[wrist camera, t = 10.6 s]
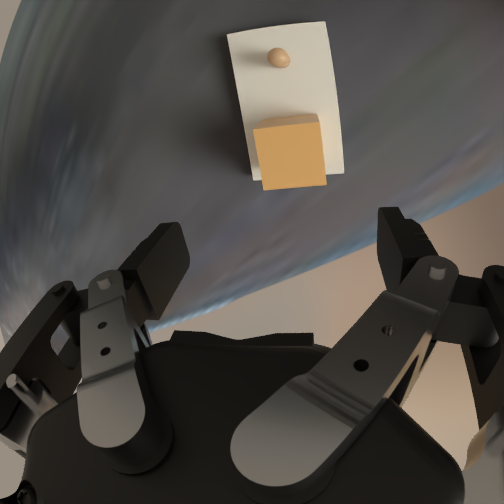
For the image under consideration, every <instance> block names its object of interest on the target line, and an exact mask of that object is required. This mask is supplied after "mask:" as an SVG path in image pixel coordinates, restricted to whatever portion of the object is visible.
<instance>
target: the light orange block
mask: <svg viewBox="0 0 504 504" xmlns="http://www.w3.org/2000/svg"><path fill="white" fill-rule="evenodd" d="M253 133H254V138H255V144H256V149H257V155H258V160H259V166H260V172H261V177H262V183H263V189H264V190H272V189H283V188H294V187H306V186H319V185H327V183H326V173H325V163H324V153H323V145H322V136H321V128H320V121H319V118H318V115H317V114H308V115H298V116H289V117H280V118H272V119H265V120H263V121H262V122H260V123H259V124H258V125H257V126H256V127H255V128H254V129H253Z"/></svg>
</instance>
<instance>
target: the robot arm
mask: <svg viewBox="0 0 504 504" xmlns="http://www.w3.org/2000/svg"><path fill="white" fill-rule="evenodd" d="M377 255H378V261H379V264H380V268H381V271H382V275H383V278H384V281H385V285H386V289H387V290H385V291H383V292H382V293H381V294H380V296H378V298H377V299H376V300H375V301H374V302H373V303H372V305H371V306H370V307H369V308H368V309H367V310H366V312H365V313H364V314H363V315H362V316H361V317H360V318H359V319H358V321H357V322H356V323H355V324H354V325H353V326H352V327H351V328H350V329H349V331H348V332H347V333H346V334H345V335H344V336H343V337H342V338H341V339H340V340H339V341H338V342H337V344H335V346H334V347H333V348H332V349H331V348H329V347H325V346H322V345H317V344H314V335H313V333H275V334H271V335H265V336H259V337H254V338H248V339H243V340H235V339H230V338H226V337H222V336H218V335H215V334H211V333H207V332H194V331H193V332H192V331H176V330H175V331H174V333H173V334H172V336H171V339H170V340H169V341H164V342H160V343H156V344H154V345H153V344H152V341H151V338H150V335H149V332H148V329H147V327H146V325H145V323H144V322H145V320H159V319H160V317H161V316H162V314H163V312H164V310H165V308H166V307H167V305H168V303H169V301H170V299H171V298H172V296H173V294H174V292H175V291H176V289H177V287H178V285H179V284H180V282H181V280H182V278H183V277H184V275H185V273H186V272H187V270H188V268H189V264H190V256H189V252H188V249H187V245H186V242H185V239H184V235H183V232H182V229H181V226H180V224H179V223H178V222H170V223H161V224H159V225H158V226H157V228H156V229H155V230H154V231H153V232H152V233H151V234H150V235H149V237H148V238H146V239H145V240H143V241H142V242H141V243H140V244H139V245H138V246H137V247H136V250H134V251H133V252H132V253H131V255H130V256H129V257H128V258H127V259H126V260H125V261H124V263H123V264H122V265H121V266H120V267H119V268H118V270H108V271H105V272H103V273H101V274H99V275H97V276H96V277H95V278H93V279H92V280H91V282H90V283H89V285H88V289H84V290H80V291H77V290H76V288H75V286H74V284H73V282H72V281H63V282H61V283H58V284H56V285H55V286H53V287H52V288H51V289H50V290H49V291H48V292H47V293H46V294H45V296H44V297H43V298H42V299H41V300H40V302H39V303H38V304H37V305H36V306H35V308H34V309H33V310H32V311H31V313H30V314H29V315H28V316H27V318H26V319H25V320H24V321H23V323H22V324H21V325H20V327H19V328H18V329H17V331H16V332H15V333H14V334H13V336H12V337H11V338H10V340H9V341H8V343H7V344H6V345H5V347H4V348H3V349H2V351H1V353H0V441H1V442H3V443H4V444H5V445H6V446H8V447H9V448H10V449H12V450H14V451H16V452H17V453H18V454H20V455H21V456H22V457H24V458H25V459H26V460H25V467H24V472H23V476H22V481H21V483H20V485H19V487H18V489H17V491H16V492H15V493H14V494H12V495H11V496H8V497H6V498H2V499H0V504H504V266H499V265H491V266H488V267H486V268H485V269H484V271H483V275H482V278H475V277H468V276H463V275H459V270H458V268H457V266H456V265H455V264H454V263H453V262H452V261H450V260H448V259H447V258H444V257H441V256H439V255H438V253H437V252H436V250H435V248H434V247H433V245H432V243H431V242H430V240H429V238H428V237H427V235H426V234H425V232H424V230H423V228H422V227H421V225H420V224H418V223H417V222H415V221H414V220H412V219H405V218H404V216H403V215H402V213H401V211H400V210H399V208H398V207H380V208H379V209H378V230H377ZM59 324H61V326H62V327H63V329H64V330H65V332H66V333H67V335H68V336H69V339H68V341H67V342H66V344H65V345H64V347H63V348H62V350H61V351H60V353H59V355H58V356H57V354H56V353H55V352H54V350H53V349H52V347H51V343H50V340H51V336H52V334H53V333H54V332H55V330H56V329H57V327H58V326H59ZM439 341H442V342H448V343H455V344H461V348H462V352H463V355H464V359H465V363H466V367H467V371H468V375H469V379H470V383H471V387H472V393H473V397H474V402H475V407H476V413H477V419H478V425H479V432H478V433H477V434H476V435H475V436H474V437H473V439H472V440H471V442H470V444H469V447H468V451H467V462H466V465H465V468H464V470H463V471H461V469H460V467H459V465H458V464H457V462H456V461H455V459H454V458H453V457H452V456H451V455H450V454H449V453H448V452H447V451H446V450H445V449H444V448H443V447H442V446H441V445H440V444H439V443H437V442H436V441H435V440H434V439H433V438H432V437H431V436H430V435H429V434H428V433H427V432H426V431H425V430H424V429H423V428H422V427H421V426H420V425H419V424H418V423H416V422H415V421H414V420H413V419H412V418H411V417H410V416H409V415H408V414H407V413H406V412H405V411H404V410H403V409H402V406H403V404H404V403H405V401H406V399H407V398H408V396H409V394H410V392H411V390H412V388H413V386H414V384H415V383H416V381H417V379H418V378H419V376H420V374H421V372H422V371H423V369H424V367H425V365H426V364H427V362H428V360H429V359H430V357H431V355H432V353H433V351H434V349H435V347H436V346H437V344H438V342H439ZM81 378H82V383H80V384H79V385H78V383H79V382H80V380H81ZM77 385H78V386H77ZM76 387H77V392H76V393H75V394H73V393H74V391H75V389H76Z"/></svg>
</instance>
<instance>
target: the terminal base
mask: <svg viewBox="0 0 504 504" xmlns="http://www.w3.org/2000/svg"><path fill="white" fill-rule="evenodd" d="M227 39H228V44H229V49H230V54H231V60H232V65H233V70H234V75H235V81H236V86H237V92H238V97H239V102H240V108H241V113H242V119H243V124H244V130H245V135H246V141H247V146H248V152H249V158H250V163H251V169H252V175H253V180H262V177H261V172H260V166H259V160H258V155H257V149H256V144H255V138H254V133H253V129H254V128H255V127H256V126H257V125H258V124H259V123H260V122H262V121H263V120H265V119H272V118H280V117H289V116H298V115H308V114H317V115H318V118H319V121H320V128H321V136H322V145H323V153H324V163H325V173H326V174H342V173H344V163H343V150H342V138H341V127H340V118H339V109H338V100H337V92H336V85H335V78H334V71H333V64H332V58H331V52H330V46H329V40H328V34H327V29H326V24H325V22H310V23H298V24H289V25H280V26H273V27H266V28H259V29H253V30H247V31H242V32H237V33H232V34H227Z"/></svg>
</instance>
